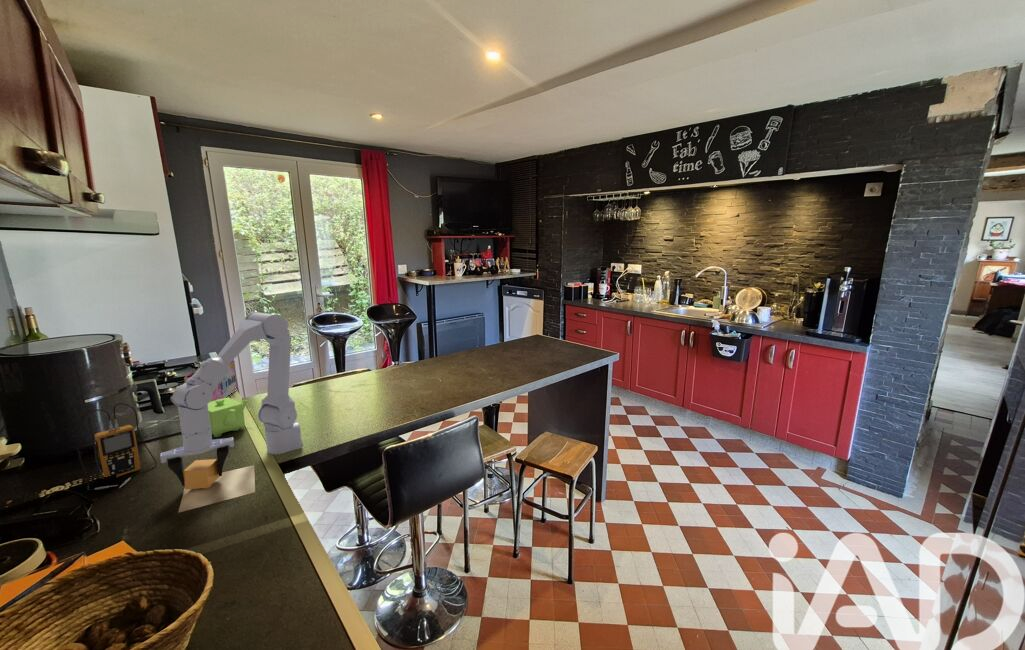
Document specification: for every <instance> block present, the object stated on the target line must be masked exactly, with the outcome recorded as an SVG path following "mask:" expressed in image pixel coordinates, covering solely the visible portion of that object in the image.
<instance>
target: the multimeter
mask: <svg viewBox="0 0 1025 650" xmlns="http://www.w3.org/2000/svg"><path fill="white" fill-rule="evenodd" d="M119 405H124V406H128V407H129V408H130V409H132V410H133V411H134V414H135V420H136V421H135V422H136V430H137V436H138V438H139V439H140V441H141V442H142V444H143V445H144V447H145V449H146V450H147V452H148V453H149V454H150V456H151V457H152V460H153V461H154V463H155V465H154V466H152V467H151V468H149V469H146V470H143V471H139V470H141V468H142V467H141V462H140V455H139V448H138V443H137V437H136V432H135V427H134V426H133V425H132V424H126V425H123V426H120V427H119V423H118V421H117V419H116V413H115V411H116V410H115V408H116V407H117V406H119ZM112 410H113V418H114V427H113V424H112V420H111V415H110V412H108V411H107V410H105V409H93V410H89V411H88V412H86V413H85V414H84V415H82V417H81V418H80V420H79V423H78V426H77V429H76V430H77V431H76V448H77V455H78V458H79V462H80V465H81V467H82V470H83V473H84V476H85V479H86V484H87V491H94V490H103V489H109V488H111V487H117V486H118V484H115V485H106V486H99V487H95V488H90V483H89V482H90V481H89V479H88V476H87V473H86V470H85V466H84V463H83V460H82V456H81V453H80V448H79V447H80V446H79V431H80V427H81V423H82V421H83V419H84V417H86V416H87V415H88V414H89V413H92V412H95V411H101V412H104V413H106V414H107V415H108V423H109V426H108V427H109V430H105V431H104V430H103V431H101V432H96V433H95V434H94V446H93V449H94V450H93V451H94V456H95V463H96V465H97V467H98V469H99V471H100V472H101V476H102V475H103V476H104V477H108V476H111V475H114V474H116V475H117V476H116V478H119V477H121V476H124V475H127V474H131V473H133V472H136V473H134V474H132V475H131V476H130V477H128V478H127V479H126V480H124V482H122V484H121V485H120V486H119V488H118V489H120V488H121V487H123V486H124V485H126V484H127V483H128V482H129V481H130V480H131V479H132V478H133V477H134V476H135V475H137V474H138V475H139V474H141V473H145V472H148V471H150V470H153V469H154V468H156V467H157V464H158V463H157V460H156V459H155V457H154V456H153V454H152V452H151V451H150V450H149V448H148V446H147V445H146V443H145V442H144V440H143V439H142V437H141V434H140V432H139V431H140V430H139V423H138V422H139V421H138V414H137V411H136V410H135V408H134V407H133V406H131V405H129V404H128V403H123V402H122V403H117V404H115V405H114V406H113V409H112ZM138 471H139V472H138Z"/></svg>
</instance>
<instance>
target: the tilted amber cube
mask: <svg viewBox="0 0 1025 650" xmlns="http://www.w3.org/2000/svg"><path fill="white" fill-rule="evenodd" d="M183 476H184V480H185V482H184V483H185V486H184V488H185V489H198V488H209V487H210V486H211V485H212V484H213V483H214V482H215V481H216V480H217V479H218V478H219V477H220V476H219V474H218V459H217V458H213V459H212V458H211V459H196V460H193V462H192V463H191V464H190V465H188V466H187V467H186V468H185V469H184V471H183Z"/></svg>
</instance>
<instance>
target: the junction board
mask: <svg viewBox="0 0 1025 650" xmlns="http://www.w3.org/2000/svg"><path fill="white" fill-rule="evenodd" d="M255 480H256V478H255V465H254V464H253V465H249V466H245V467H240V468H237V469H231V470H228V471H224V472H223V471H222V476H220V477H219V478H218V479H217V480H216V481H215V482H214V483H213V484H212V485H211V486H210V487H209V488H198V489H185V487H184V489H183V492H182V493H183V494H182V497H181V500H180V501H181V502H180V505H179V508H178V511H177V512H178V514H179V513H182V512H186V511H190V510H194V509H197V508H202V507H206V506H208V505H209V506H210V505H213V504H217V503H220V502H223V501H224V502H225V501H227V500H231V499H235V498H238V497H239V498H240V497H243V496H246V495H250V494H254V493H256V483H255V482H256V481H255Z"/></svg>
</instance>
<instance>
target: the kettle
mask: <svg viewBox="0 0 1025 650" xmlns="http://www.w3.org/2000/svg"><path fill="white" fill-rule="evenodd" d="M247 404H248V400H247V399H243V400H242V401H240V402H239V401H238V400H235V399H233V398H231V397H230V396H228V397H227V398H223V399H218V400H215V401H212V402H209V403H208V411H209V419H210V427H211V435H212V436H213V438H219V437H221V436H223V434H224V433H227V432H231V431H232V432H237V431H240V430H239V429H241V428H242V427H243V428H244V427H245V426H246V424H245V414H244V410H245V407H246V406H247Z"/></svg>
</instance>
